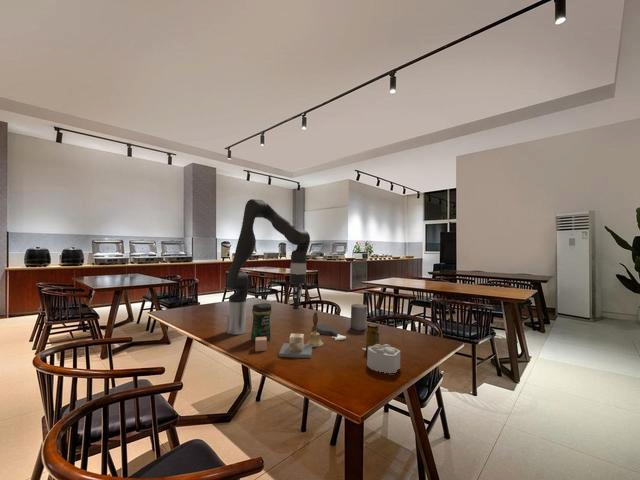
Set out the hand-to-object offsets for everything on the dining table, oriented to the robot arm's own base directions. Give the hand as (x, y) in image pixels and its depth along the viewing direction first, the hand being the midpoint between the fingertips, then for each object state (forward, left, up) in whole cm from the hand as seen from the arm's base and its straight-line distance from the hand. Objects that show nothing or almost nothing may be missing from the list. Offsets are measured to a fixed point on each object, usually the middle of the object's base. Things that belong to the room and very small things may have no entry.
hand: (296, 307), depth 144 cm
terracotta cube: (-16, +1, -20) cm, 26 cm away
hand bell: (+9, +11, -20) cm, 25 cm away
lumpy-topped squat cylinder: (+38, -15, -21) cm, 46 cm away
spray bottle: (+16, +29, -21) cm, 40 cm away
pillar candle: (+34, +45, -20) cm, 59 cm away
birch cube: (+1, -1, -19) cm, 19 cm away
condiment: (+37, +5, -20) cm, 42 cm away
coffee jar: (-19, +15, -20) cm, 32 cm away
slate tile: (+1, -1, -20) cm, 20 cm away
